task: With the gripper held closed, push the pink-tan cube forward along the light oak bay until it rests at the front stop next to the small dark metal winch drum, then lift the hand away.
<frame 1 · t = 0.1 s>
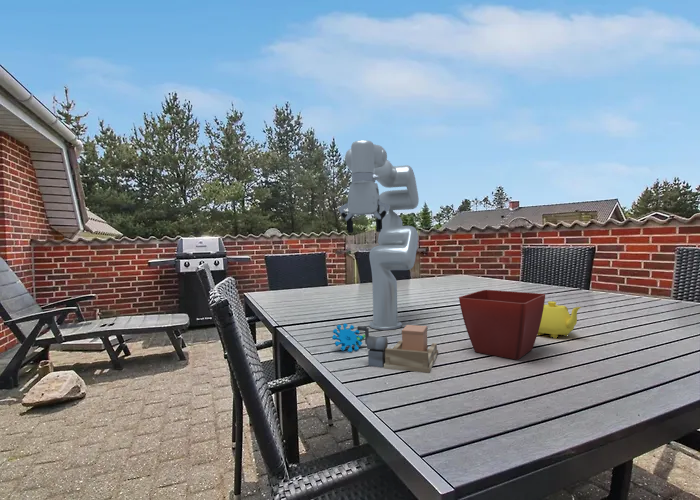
hand: (364, 232, 124), 37 cm above the table, tool pointing down, fingers open, 9 cm apart
bay: (412, 360, 106), on the table
pink-tan cube: (414, 340, 110), point 5 cm above the table, slide at 0.0 cm
teapot: (553, 335, 130), on the table
gear: (349, 349, 119), on the table
plant pot: (502, 351, 113), on the table
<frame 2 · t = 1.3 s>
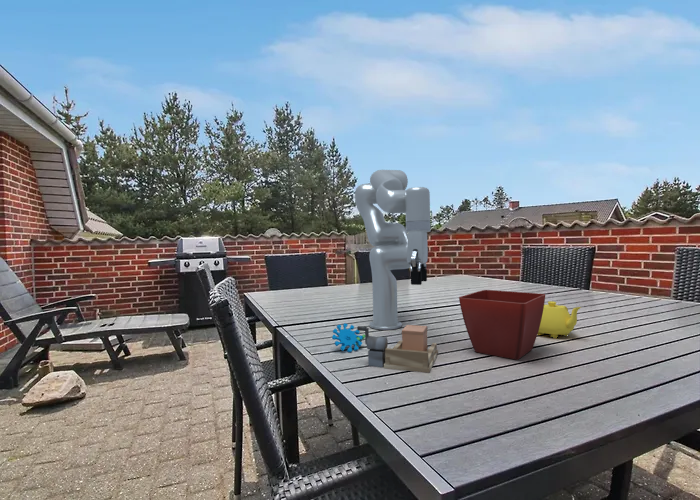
hand: (419, 282, 118), 20 cm above the table, tool pointing down, fingers open, 8 cm apart
nothing on the table moved.
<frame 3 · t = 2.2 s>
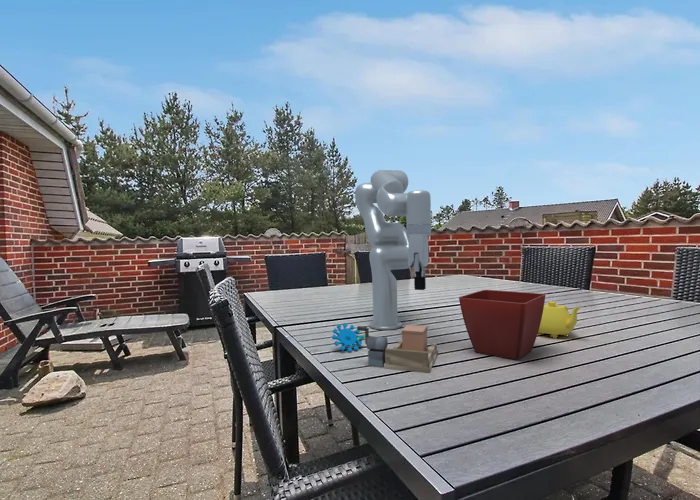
hand: (420, 289, 118), 18 cm above the table, tool pointing down, fingers closed
nothing on the table moved.
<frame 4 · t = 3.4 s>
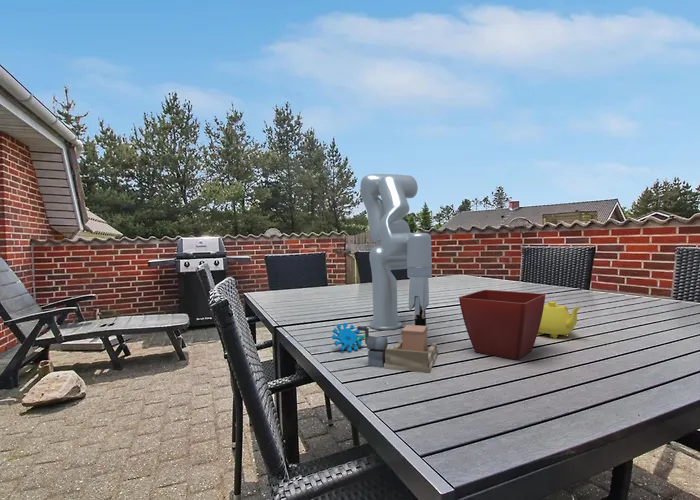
hand: (420, 330, 118), 5 cm above the table, tool pointing down, fingers closed
nothing on the table moved.
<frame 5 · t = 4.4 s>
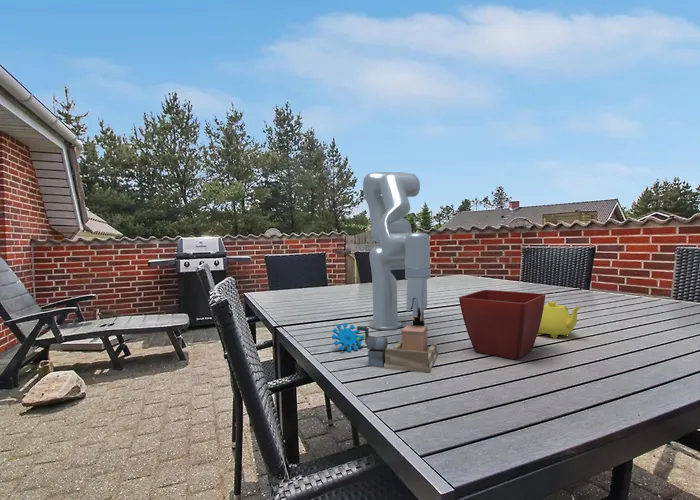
hand: (418, 333, 115), 5 cm above the table, tool pointing down, fingers closed
pink-tan cube: (414, 340, 110), point 5 cm above the table, slide at 0.2 cm, touching gripper
everything else where it was.
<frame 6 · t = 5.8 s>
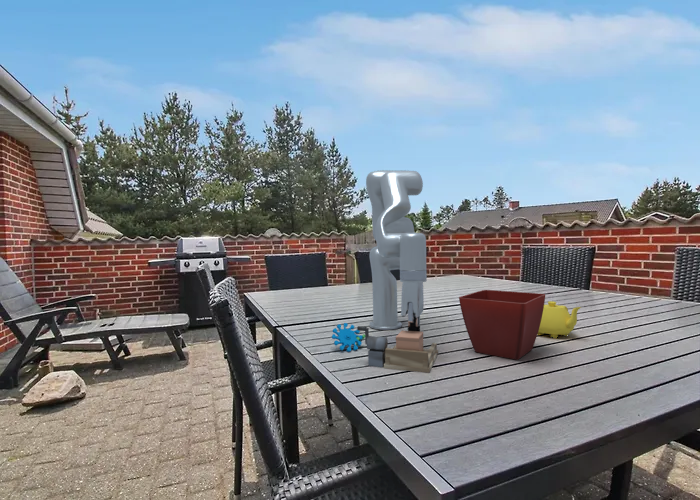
hand: (414, 339, 109), 5 cm above the table, tool pointing down, fingers closed
pink-tan cube: (410, 346, 103), point 5 cm above the table, slide at 7.1 cm, touching gripper
everything else where it was.
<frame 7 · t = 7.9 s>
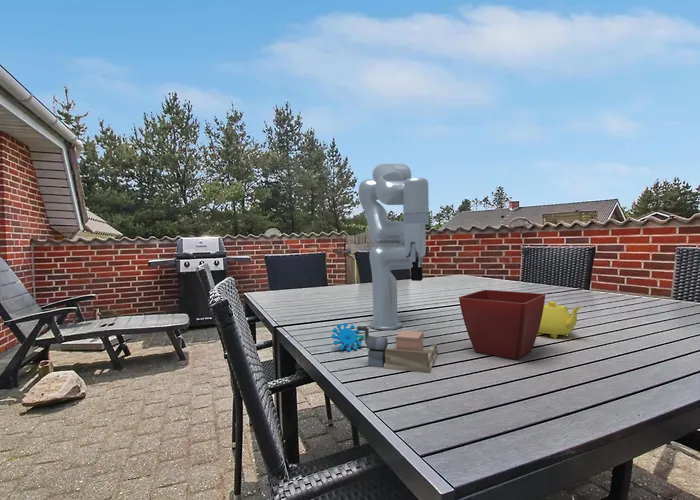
hand: (416, 280, 114), 22 cm above the table, tool pointing down, fingers closed
pink-tan cube: (410, 346, 103), point 5 cm above the table, slide at 7.0 cm
everything else where it was.
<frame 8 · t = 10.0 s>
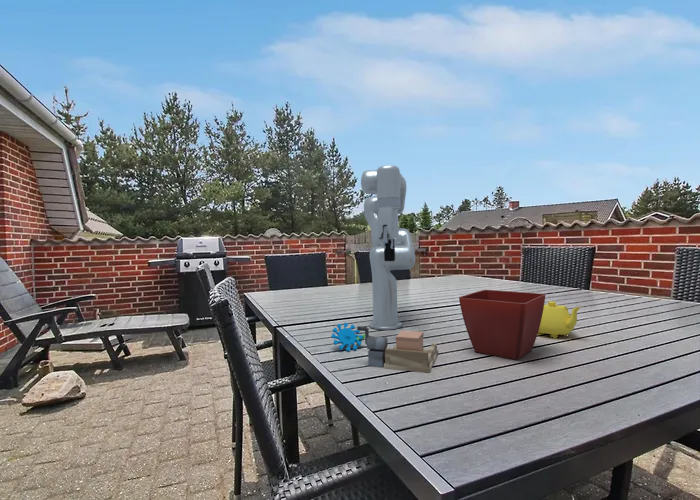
hand: (389, 260, 123), 27 cm above the table, tool pointing down, fingers closed
nothing on the table moved.
at the end: pink-tan cube slide at 7.0 cm; the gripper is holding nothing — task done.
